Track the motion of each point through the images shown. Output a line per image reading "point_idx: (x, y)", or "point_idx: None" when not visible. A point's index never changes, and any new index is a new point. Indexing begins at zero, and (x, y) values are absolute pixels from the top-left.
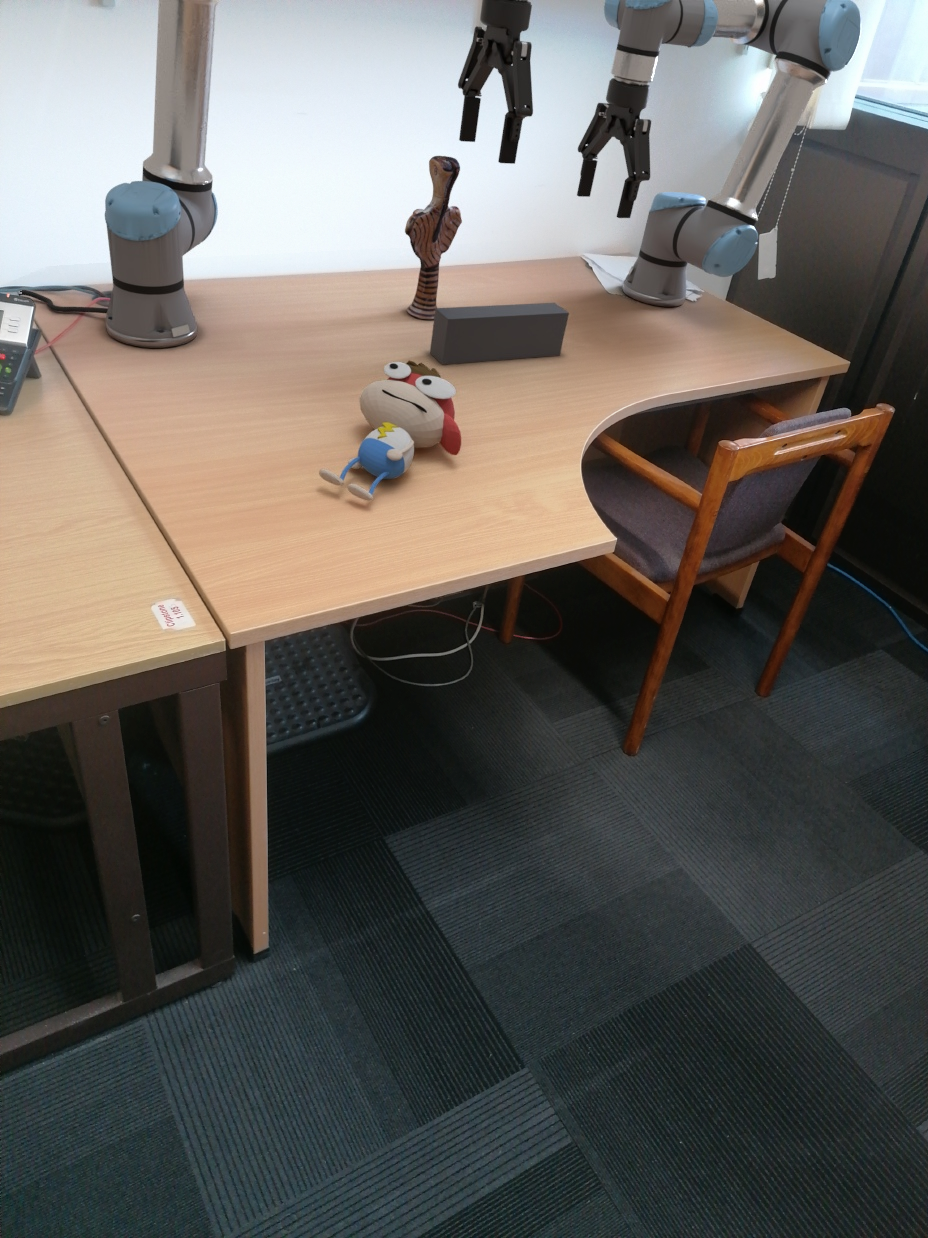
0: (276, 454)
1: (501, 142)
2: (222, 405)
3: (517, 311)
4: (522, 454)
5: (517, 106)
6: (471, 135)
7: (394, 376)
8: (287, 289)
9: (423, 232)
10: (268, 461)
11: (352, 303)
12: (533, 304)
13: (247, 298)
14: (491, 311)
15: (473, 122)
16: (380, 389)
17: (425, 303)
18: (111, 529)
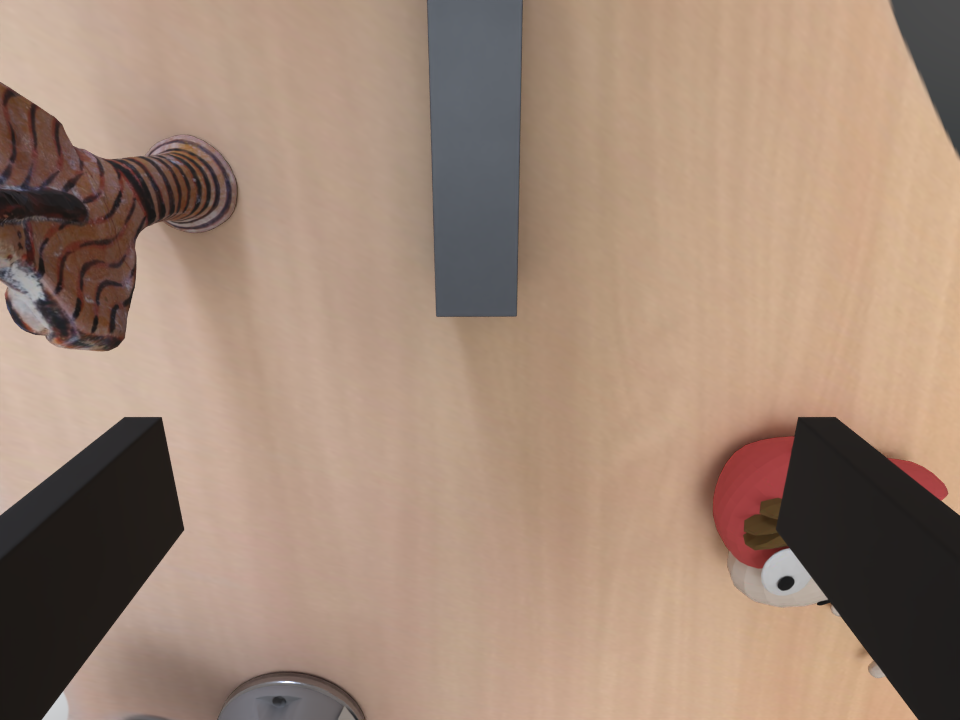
0: (748, 673)
1: (853, 625)
2: (582, 697)
3: (489, 46)
4: (930, 315)
5: None
6: (149, 478)
7: (806, 584)
8: (54, 466)
9: (92, 274)
10: (762, 686)
11: (130, 349)
12: None
13: None
14: (479, 147)
15: (87, 540)
16: (810, 603)
17: (205, 202)
18: None
